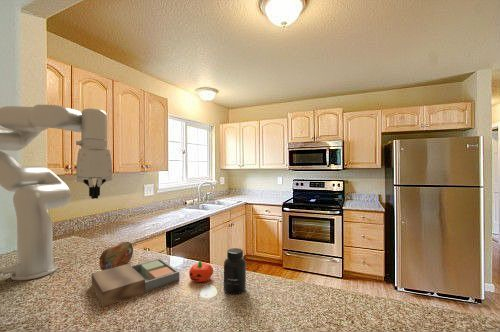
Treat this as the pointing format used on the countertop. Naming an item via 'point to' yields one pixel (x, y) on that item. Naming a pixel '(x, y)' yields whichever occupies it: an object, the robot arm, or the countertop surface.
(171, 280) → the box
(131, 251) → the tin
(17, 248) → the robot arm
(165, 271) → the tile
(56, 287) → the countertop surface
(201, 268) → the pumpkin
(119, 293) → the tan slab
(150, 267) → the tile
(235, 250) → the supplement bottle
